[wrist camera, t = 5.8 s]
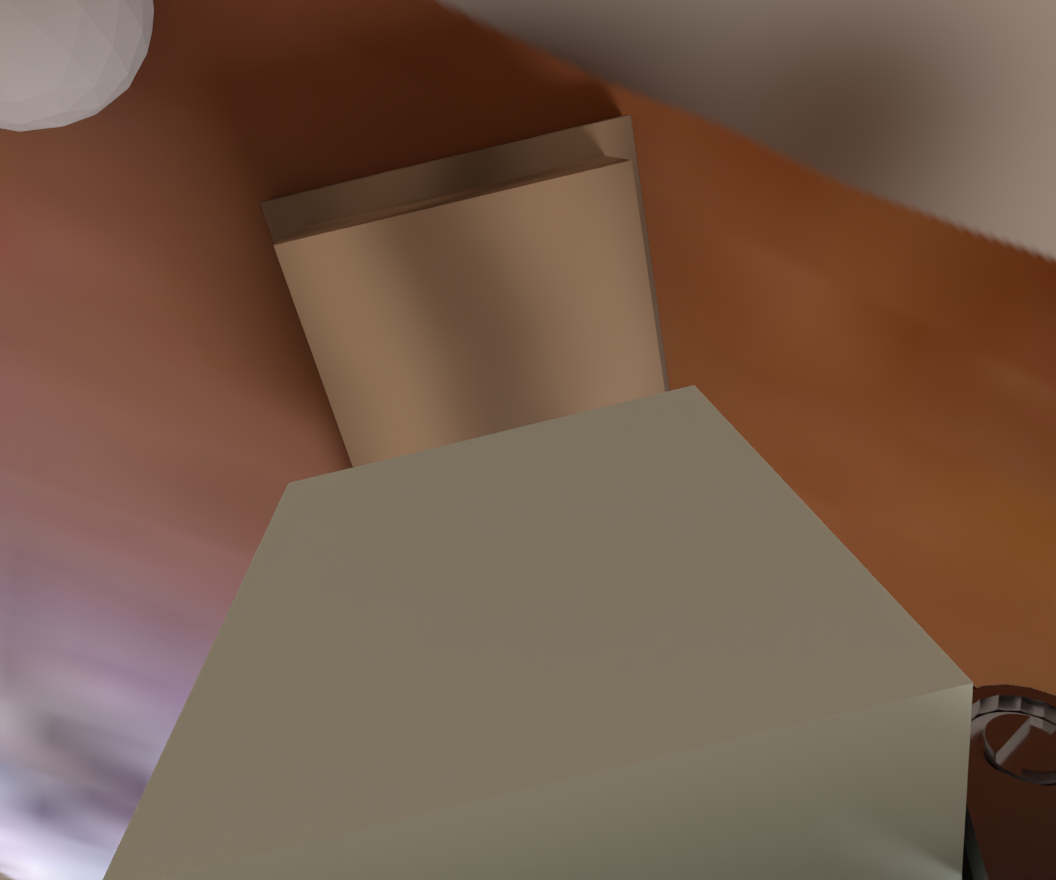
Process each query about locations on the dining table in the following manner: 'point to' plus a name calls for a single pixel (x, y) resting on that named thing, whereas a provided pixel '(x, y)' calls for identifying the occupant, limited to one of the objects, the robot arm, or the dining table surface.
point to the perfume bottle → (68, 58)
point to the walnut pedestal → (476, 290)
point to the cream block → (562, 678)
